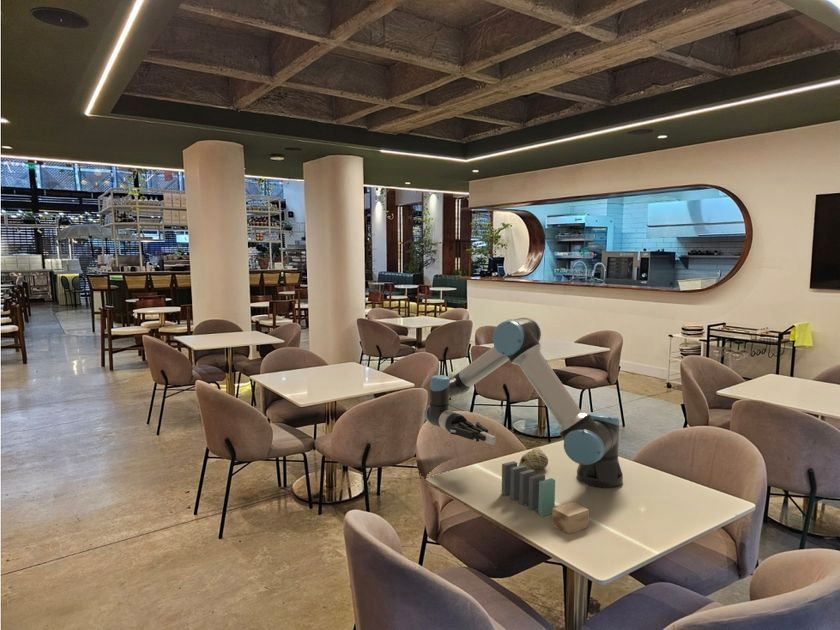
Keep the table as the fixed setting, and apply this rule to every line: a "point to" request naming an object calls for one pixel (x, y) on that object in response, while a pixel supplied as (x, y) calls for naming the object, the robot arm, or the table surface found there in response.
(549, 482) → the domino
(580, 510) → the stop block
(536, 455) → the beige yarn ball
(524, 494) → the domino
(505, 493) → the domino
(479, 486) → the table surface
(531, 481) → the domino
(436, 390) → the robot arm
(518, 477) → the domino
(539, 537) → the table surface
